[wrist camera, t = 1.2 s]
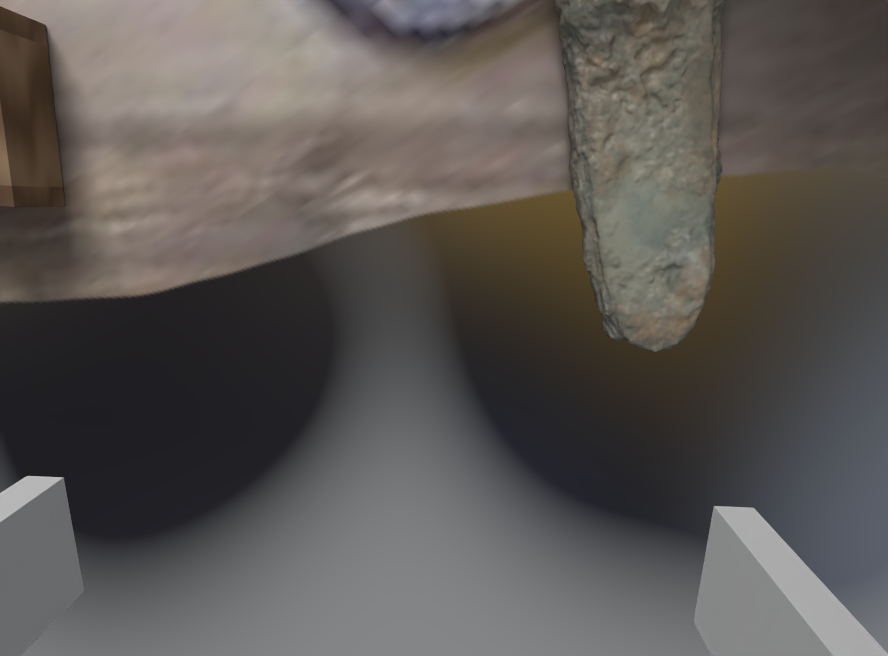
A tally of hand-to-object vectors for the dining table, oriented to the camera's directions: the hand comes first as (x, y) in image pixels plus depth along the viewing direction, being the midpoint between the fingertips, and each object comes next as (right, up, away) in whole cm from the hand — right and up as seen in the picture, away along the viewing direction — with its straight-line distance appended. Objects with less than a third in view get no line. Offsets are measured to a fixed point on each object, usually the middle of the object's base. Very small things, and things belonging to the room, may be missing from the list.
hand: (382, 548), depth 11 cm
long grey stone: (+12, +20, +21) cm, 32 cm away
